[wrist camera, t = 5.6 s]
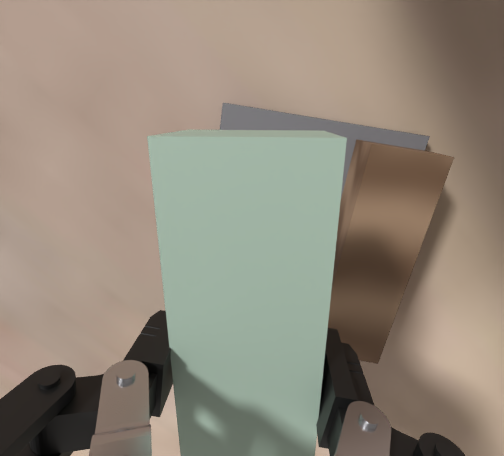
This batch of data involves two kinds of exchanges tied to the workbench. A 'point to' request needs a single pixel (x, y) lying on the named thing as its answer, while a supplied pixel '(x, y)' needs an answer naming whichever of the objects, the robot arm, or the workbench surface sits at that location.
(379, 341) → the walnut board
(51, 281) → the workbench surface
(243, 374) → the plank
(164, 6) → the workbench surface
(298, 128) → the base
